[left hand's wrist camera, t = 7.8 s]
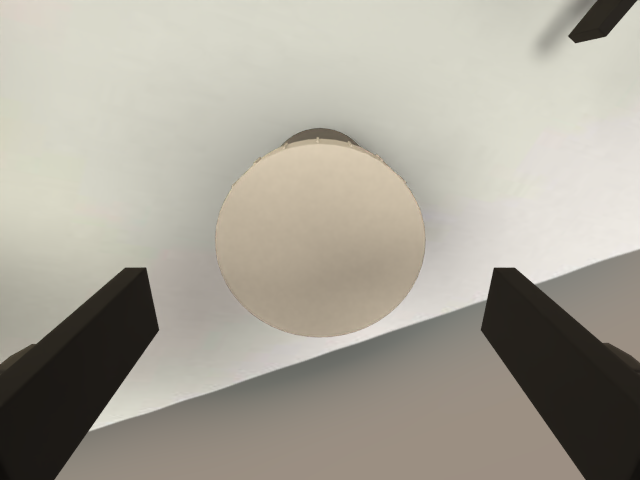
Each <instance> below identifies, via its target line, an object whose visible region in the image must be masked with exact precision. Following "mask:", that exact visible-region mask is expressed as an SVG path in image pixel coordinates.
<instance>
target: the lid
mask: <svg viewBox="0 0 640 480" xmlns="http://www.w3.org/2000/svg"><path fill="white" fill-rule="evenodd" d="M253 164H254V165H253V166H252V167H251V168H250V169H249V170H248V171H247V172H246V173H244V174H243V175H242V176H241V178H239V179H238V180H237V181H236V182H235V183H234V184H233V185H232V189H231V190H230V192H229V194H228V195H227V197H226V199H225V201H224V203H223V206H222V208H221V210H220V213H219V217H218V221H217V226H216V235H215V243H216V254H217V260H218V264H219V267H220V270H221V273H222V276H223V278H224V280H225V282H226V284H227V286H228V287H229V289H230V290H231V292H232V293H233V295H234V296H235V297H236V299H237V300H238V301H239V302H240V303H241V304H242V305H243V306H244V307H245V308H246V309H247V310H248V311H249V312H250V313H251V314H253V315H254V316H256V317H257V318H258V319H260V320H261V321H263V322H265V323H267V324H268V325H270V326H272V327H275V328H277V329H279V330H282V331H285V332H288V333H292V334H295V335H301V336H307V337H333V336H339V335H345V334H349V333H352V332H356V331H358V330H361V329H364V328H366V327H368V326H370V325H372V324H374V323H376V322H378V321H379V320H381V319H382V318H384V317H385V316H387V315H388V314H389V313H390V312H391V311H393V310H394V309H395V308H396V307H397V306H398V305H399V304H400V303H401V302H402V300H403V299H404V298H405V297H406V296H407V294H408V293H409V291H410V290H411V288H412V287H413V285H414V283H415V281H416V279H417V277H418V274H419V272H420V269H421V266H422V262H423V257H424V253H425V228H424V223H423V219H422V214H421V212H420V208H419V206H418V204H417V201H416V200H415V198H414V196H413V194H412V193H411V191H410V189H409V188H408V187H407V185H406V184H405V183H406V181H405V180H403V179H402V178H401V177H400V176H399V175H397V174H396V173H395V172H394V171H393V170H392V169H391V168H390V167H389V166H388V165H387V164H386V163H385V162H384V161H383V159H381V158H380V157H379V156H378V155H377V154H376V155H374V154H372V153H371V152H369V151H367V150H365V149H363V148H361V147H359V146H356V145H353V144H351V142H350V141H348V143H347V142H343V141H338V140H331V139H319V137H317V139H308V140H303V141H297V142H293V143H290V144H288V143H286V144H285V145H284V146H282V147H280V148H278V149H276V150H274V151H272V152H270V153H268V154H267V155H265V156H264V157H262V158H261V157H259V158H258V159H257V160H256V161H255V162H254V163H253Z"/></svg>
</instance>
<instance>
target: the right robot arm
mask: <svg viewBox="0 0 640 480" xmlns="http://www.w3.org/2000/svg"><path fill="white" fill-rule="evenodd" d="M636 1H637V0H597V2H596V3H595V4H594V5H593V6H592V8H591V9H590V10H589V11H588V12H587V14H586V15H585V16H584V17H583V19H582V20H581V21H580V22H579V23H578V25H577V26H576V27H575V28H574V29H573V31H572V32H571V33H570V34H569V36H568V37H569V38H571V39H572V40H573V41H574V42H575V43H579V42H583V41H588V40H592V39H597V38H601V37H606V36H607V35H608V34H609V32H610V31H611V30H612V29H613V28H614V27H615V25H616V24H617V23H618V22H619V21H620V20H621V18H622V17H623V16H624V15H625V14H626V13H627V12H628V10H629V9H630V8H631V7H632V6H633V5H634V3H635V2H636Z"/></svg>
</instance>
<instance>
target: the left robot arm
mask: <svg viewBox="0 0 640 480" xmlns="http://www.w3.org/2000/svg"><path fill="white" fill-rule="evenodd" d="M158 331H159V327H158V322H157V317H156V313H155V308H154V303H153V298H152V294H151V289H150V284H149V279H148V275H147V270H146V268H124V269H123V270H122V271H121V272H120V273H118V274H117V275H116V276H115V277H114V278H113V279H112V280H110V281H109V282H108V283H107V284H106V285H105V286H103V287H102V288H101V289H100V290H99V291H98V292H96V293H95V294H94V295H93V296H92V297H91V298H89V299H88V300H87V301H86V302H85V303H84V304H82V305H81V306H80V307H79V308H78V309H77V310H75V311H74V312H73V313H72V314H71V315H70V316H69V317H67V318H66V319H65V320H64V321H63V322H62V323H60V324H59V325H58V326H57V327H56V328H55V329H53V330H52V331H51V332H50V333H49V334H48V335H46V336H45V337H44V338H43V339H42V340H41V341H39V342H38V343H37V344H32V345H30V346H28V347H26V348H24V349H23V350H21V351H19V352H17V353H15V354H14V355H12V356H10V357H9V358H8V359H6V360H5V361H4V362H3V363H2V364H0V480H54V479H55V478H56V476H57V475H58V474H59V472H60V471H61V469H62V468H63V467H64V465H65V464H66V462H67V461H68V459H69V458H70V457H71V455H72V454H73V452H74V451H75V449H76V448H77V447H78V445H79V444H80V442H81V441H82V439H83V438H84V436H85V435H86V434H87V432H88V431H89V429H90V428H91V427H92V425H93V424H94V422H95V421H96V419H97V418H98V417H99V415H100V414H101V412H102V411H103V409H104V408H105V407H106V405H107V404H108V402H109V401H110V399H111V398H112V397H113V395H114V394H115V392H116V391H117V389H118V388H119V387H120V385H121V384H122V382H123V381H124V379H125V378H126V377H127V375H128V374H129V372H130V371H131V369H132V368H133V367H134V365H135V364H136V362H137V361H138V359H139V358H140V357H141V355H142V354H143V352H144V351H145V349H146V348H147V347H148V345H149V344H150V342H151V341H152V339H153V338H154V337H155V335H156V334H157V332H158ZM481 331H482V332H483V334H484V335H485V337H486V338H487V339H488V341H489V342H490V344H491V345H492V347H493V348H494V349H495V351H496V352H497V354H498V355H499V357H500V358H501V359H502V361H503V362H504V364H505V365H506V367H507V368H508V369H509V371H510V372H511V374H512V375H513V377H514V378H515V379H516V381H517V382H518V384H519V385H520V386H521V388H522V389H523V391H524V392H525V394H526V395H527V397H528V398H529V399H530V401H531V402H532V404H533V405H534V407H535V408H536V409H537V411H538V412H539V414H540V415H541V417H542V418H543V419H544V421H545V422H546V424H547V425H548V427H549V428H550V429H551V431H552V432H553V434H554V435H555V437H556V438H557V439H558V441H559V442H560V444H561V445H562V447H563V448H564V449H565V451H566V452H567V454H568V455H569V457H570V458H571V459H572V461H573V462H574V464H575V465H576V466H577V468H578V469H579V471H580V472H581V474H582V475H583V477H584V478H585V479H586V480H640V363H639V362H638V361H637V360H636V359H634V358H633V357H632V356H631V355H629V354H627V353H625V352H624V351H622V350H620V349H618V348H616V347H615V346H613V345H611V344H609V343H602V342H601V341H599V340H598V339H597V338H596V337H595V336H594V335H592V334H591V333H590V332H589V331H588V330H587V329H585V328H584V327H583V326H582V325H581V324H580V323H578V322H577V321H576V320H575V319H574V318H573V317H571V316H570V315H569V314H568V313H567V312H566V311H565V310H563V309H562V308H561V307H560V306H559V305H558V304H556V303H555V302H554V301H553V300H552V299H551V298H549V297H548V296H547V295H546V294H545V293H544V292H542V291H541V290H540V289H539V288H538V287H537V286H535V285H534V284H533V283H532V282H531V281H530V280H528V279H527V278H526V277H525V276H524V275H523V274H522V273H520V272H519V271H518V270H517V269H516V268H494V270H493V275H492V279H491V284H490V289H489V294H488V298H487V303H486V308H485V313H484V317H483V322H482V327H481Z"/></svg>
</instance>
